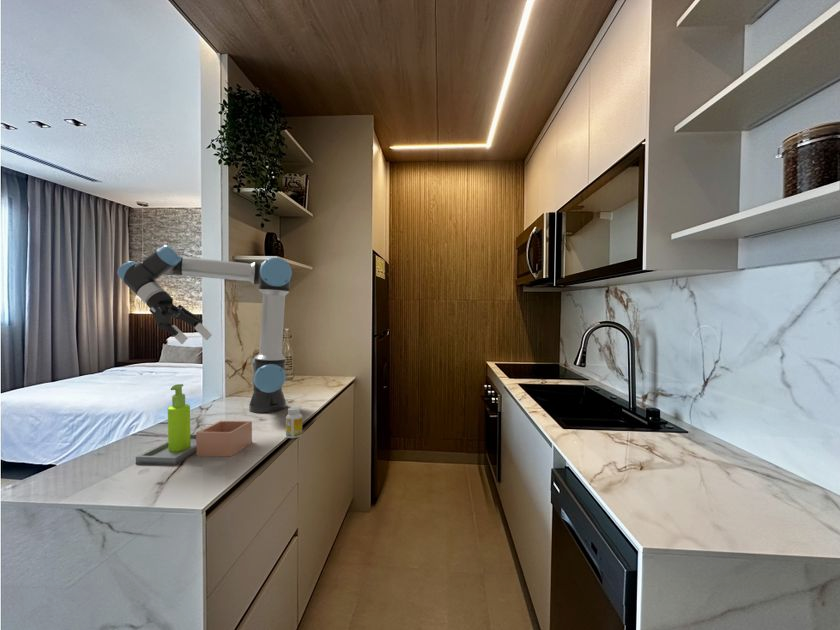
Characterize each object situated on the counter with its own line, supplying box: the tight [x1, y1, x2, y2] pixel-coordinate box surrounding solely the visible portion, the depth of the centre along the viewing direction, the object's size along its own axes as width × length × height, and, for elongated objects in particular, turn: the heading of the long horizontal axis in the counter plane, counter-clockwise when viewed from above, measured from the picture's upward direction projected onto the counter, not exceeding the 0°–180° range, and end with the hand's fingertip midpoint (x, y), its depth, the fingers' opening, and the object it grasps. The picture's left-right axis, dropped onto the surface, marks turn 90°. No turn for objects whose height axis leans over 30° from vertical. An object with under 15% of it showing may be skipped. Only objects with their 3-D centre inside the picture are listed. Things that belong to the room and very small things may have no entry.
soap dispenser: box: [167, 383, 191, 452], centre depth 119 cm, size 6×7×20 cm
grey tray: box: [135, 433, 197, 466], centre depth 119 cm, size 20×12×2 cm, turn 176°
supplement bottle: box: [285, 406, 303, 439], centre depth 133 cm, size 5×5×10 cm
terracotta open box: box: [195, 420, 253, 457], centre depth 121 cm, size 12×11×7 cm
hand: (197, 339), depth 136 cm, fingers open, 13 cm apart
